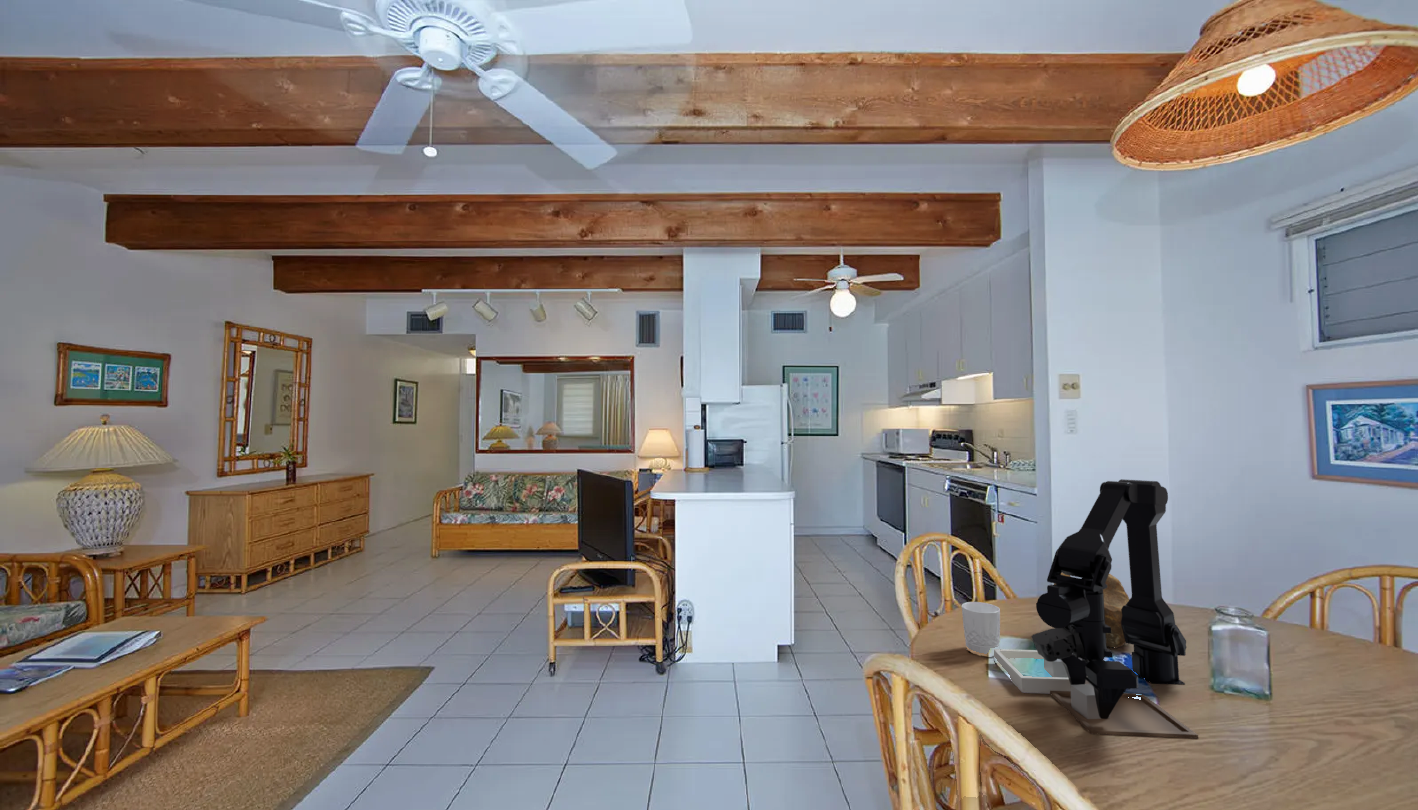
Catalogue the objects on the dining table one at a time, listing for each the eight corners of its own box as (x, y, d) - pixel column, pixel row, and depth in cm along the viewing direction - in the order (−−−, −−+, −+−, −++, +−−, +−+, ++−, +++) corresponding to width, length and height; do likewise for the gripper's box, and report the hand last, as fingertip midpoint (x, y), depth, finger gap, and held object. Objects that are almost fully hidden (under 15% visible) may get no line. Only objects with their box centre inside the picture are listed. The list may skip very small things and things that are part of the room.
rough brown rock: (1104, 664, 120) (1108, 595, 120) (1032, 632, 136) (1035, 572, 135) (1165, 648, 130) (1169, 584, 130) (1092, 620, 145) (1095, 563, 145)
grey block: (1065, 673, 113) (1064, 653, 113) (1075, 682, 109) (1074, 662, 109) (1044, 673, 114) (1043, 653, 114) (1053, 681, 110) (1052, 661, 110)
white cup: (998, 661, 121) (996, 615, 121) (959, 653, 126) (958, 608, 126) (1004, 649, 127) (1002, 605, 128) (967, 642, 132) (965, 599, 132)
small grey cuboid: (1093, 706, 100) (1091, 683, 100) (1110, 718, 96) (1108, 694, 96) (1071, 707, 100) (1070, 684, 100) (1087, 719, 96) (1086, 695, 96)
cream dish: (1063, 666, 118) (1063, 650, 118) (1101, 697, 104) (1100, 680, 104) (994, 664, 120) (993, 649, 120) (1022, 695, 106) (1021, 677, 106)
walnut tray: (1142, 699, 103) (1142, 693, 103) (1198, 741, 89) (1198, 734, 89) (1050, 696, 105) (1050, 690, 105) (1091, 736, 91) (1090, 730, 91)
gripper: (1015, 599, 109) (1019, 681, 108) (1063, 634, 90) (1068, 733, 90) (1076, 600, 107) (1080, 683, 107) (1137, 636, 89) (1143, 736, 88)
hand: (1090, 706), depth 98 cm, fingers open, 8 cm apart
